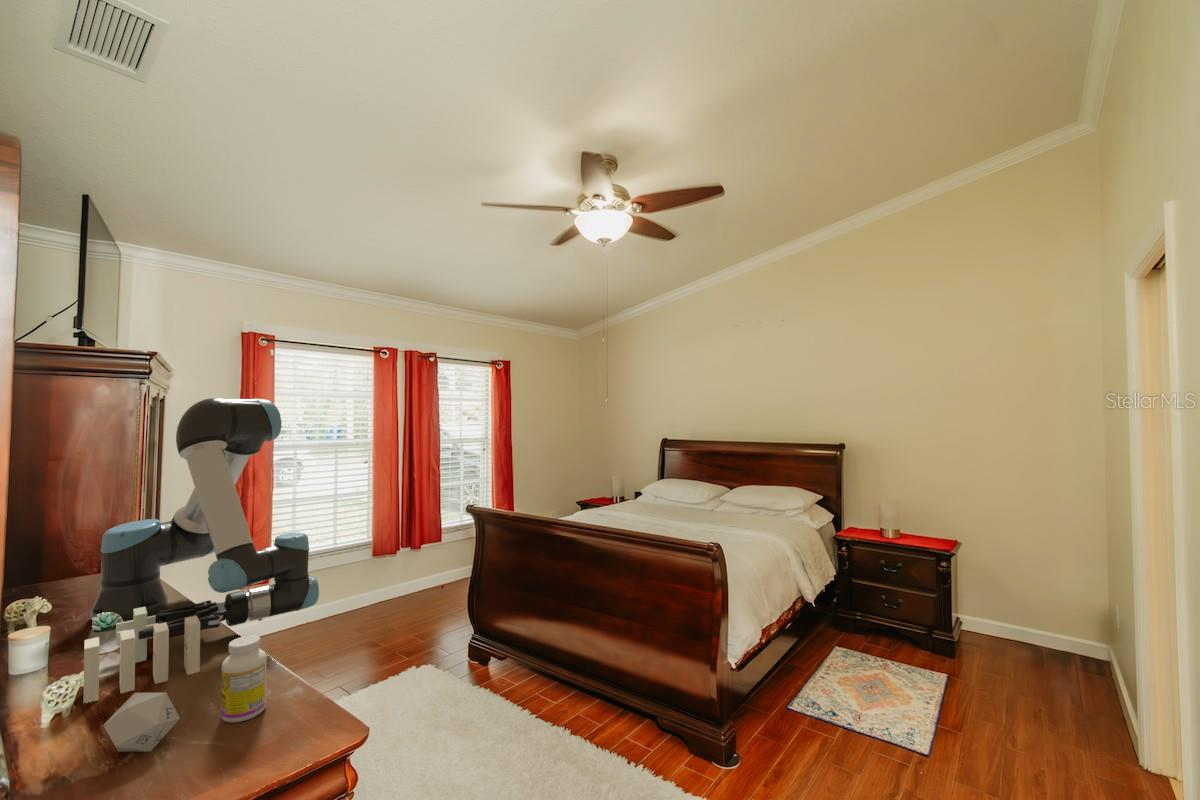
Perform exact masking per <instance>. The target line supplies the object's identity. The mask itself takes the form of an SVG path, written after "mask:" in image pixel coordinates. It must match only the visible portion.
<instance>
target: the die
mask: <svg viewBox="0 0 1200 800" xmlns="http://www.w3.org/2000/svg"><path fill="white" fill-rule="evenodd" d="M180 719H181V717H180V716H179V714H178V712H177V710H176V708H175V706H174V705H173V702H172V701H171V698H170V697H169V695H168V693H167V692H134V693H133V694H132V695H131V697H129V698H128V699H127V700H126V701H125V702H124V703H123V704H122V706H120V707H119V708H118V709H117V710H116V711H115V713H113V714H112V716H111V717H109V719H107V721H106V722H105V723H104V724H103V725H102V726H103V727H104V728H105V731H106V732H107V735H108V737H109V738H110V740H111V742H112V744H113V745H114V747H115V749H116V750H117V752H118V753H120V752H122V753H126V752H127V753H128V752H129V753H130V752H131V753H134V752H135V753H136V752H146V753H147V752H152V751H153V749H154V748H156V746H157V745H158V744H159V743H160V742H161V740H162V739H163V738H164V737H165V736H166V735H167V734H168V732H170V730H171V729H172V728H173V727H174V726H175V725H176V724H177V722H178V721H179V720H180Z"/></svg>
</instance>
